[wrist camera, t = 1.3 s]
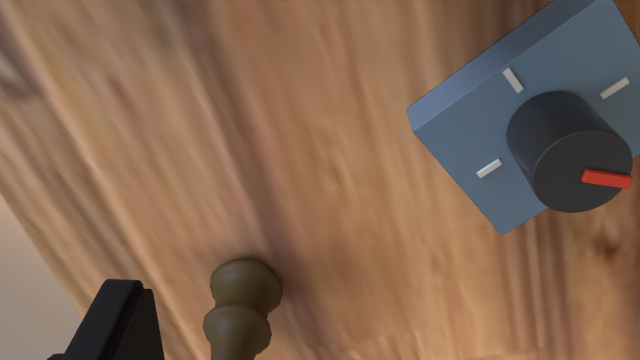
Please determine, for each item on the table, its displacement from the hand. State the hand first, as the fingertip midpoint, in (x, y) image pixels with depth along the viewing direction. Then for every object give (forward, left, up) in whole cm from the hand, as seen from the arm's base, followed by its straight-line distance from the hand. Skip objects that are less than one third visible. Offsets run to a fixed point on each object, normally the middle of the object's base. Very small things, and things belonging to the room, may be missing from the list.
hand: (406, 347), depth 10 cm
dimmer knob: (-4, +10, -19) cm, 22 cm away
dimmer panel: (-4, +10, -22) cm, 24 cm away
